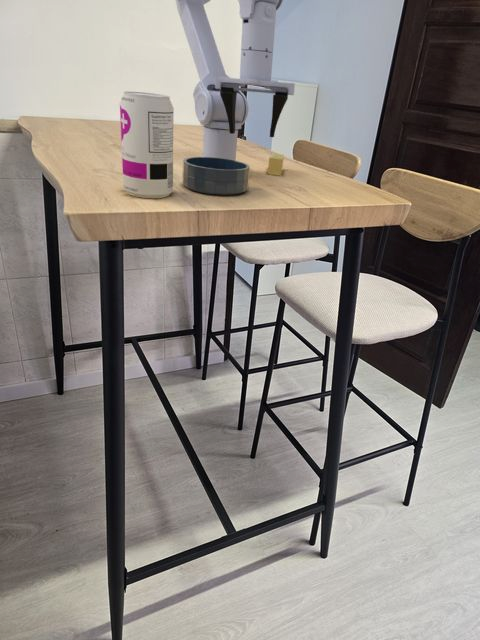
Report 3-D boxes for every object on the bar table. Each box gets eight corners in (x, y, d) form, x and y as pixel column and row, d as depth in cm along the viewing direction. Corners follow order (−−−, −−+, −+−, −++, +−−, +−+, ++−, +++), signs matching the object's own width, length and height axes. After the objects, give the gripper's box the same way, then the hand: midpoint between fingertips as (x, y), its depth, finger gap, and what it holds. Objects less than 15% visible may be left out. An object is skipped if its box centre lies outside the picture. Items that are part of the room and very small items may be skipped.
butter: (269, 168, 113) (271, 153, 111) (282, 170, 113) (283, 154, 111) (267, 174, 107) (269, 157, 105) (280, 175, 107) (282, 159, 105)
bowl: (190, 178, 95) (190, 154, 93) (250, 185, 95) (252, 161, 93) (175, 191, 84) (176, 164, 82) (243, 199, 84) (245, 173, 82)
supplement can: (122, 197, 77) (118, 93, 69) (124, 186, 84) (120, 89, 76) (173, 200, 79) (174, 99, 71) (171, 189, 86) (172, 95, 78)
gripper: (212, 46, 82) (210, 133, 88) (296, 53, 81) (288, 140, 87) (219, 50, 88) (217, 130, 94) (297, 56, 87) (290, 137, 94)
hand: (252, 135), depth 91 cm, fingers open, 7 cm apart
